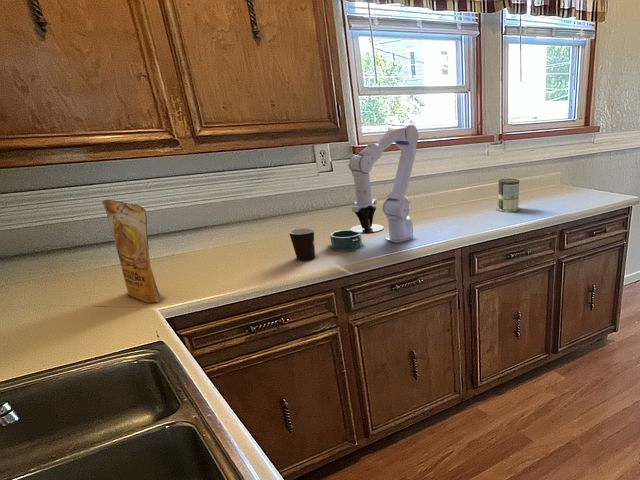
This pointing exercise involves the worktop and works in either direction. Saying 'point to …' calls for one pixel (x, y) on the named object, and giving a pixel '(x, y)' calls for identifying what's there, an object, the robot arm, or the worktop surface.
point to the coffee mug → (303, 243)
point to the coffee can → (508, 195)
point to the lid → (369, 230)
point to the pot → (345, 240)
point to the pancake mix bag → (133, 248)
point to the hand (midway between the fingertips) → (367, 227)
